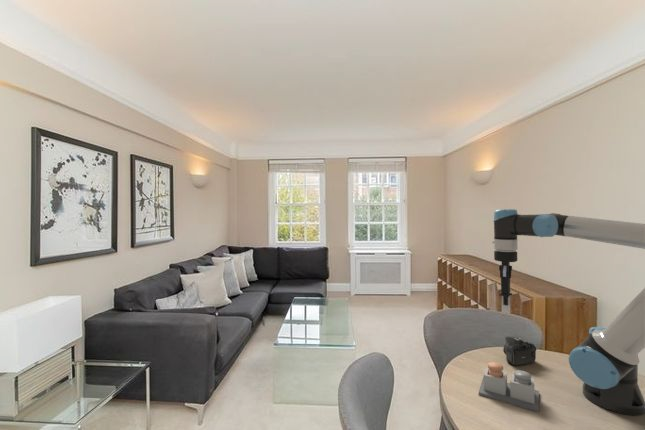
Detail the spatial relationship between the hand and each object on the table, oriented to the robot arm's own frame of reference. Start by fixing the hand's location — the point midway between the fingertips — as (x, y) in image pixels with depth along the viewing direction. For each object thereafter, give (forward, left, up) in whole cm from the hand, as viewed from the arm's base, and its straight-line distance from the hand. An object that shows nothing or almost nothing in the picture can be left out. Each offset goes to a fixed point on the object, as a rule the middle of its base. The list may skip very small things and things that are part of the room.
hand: (505, 312), depth 117 cm
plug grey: (-5, +12, -23) cm, 26 cm away
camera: (-3, -17, -25) cm, 30 cm away
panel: (-1, +12, -24) cm, 27 cm away
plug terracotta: (+3, +12, -22) cm, 25 cm away
